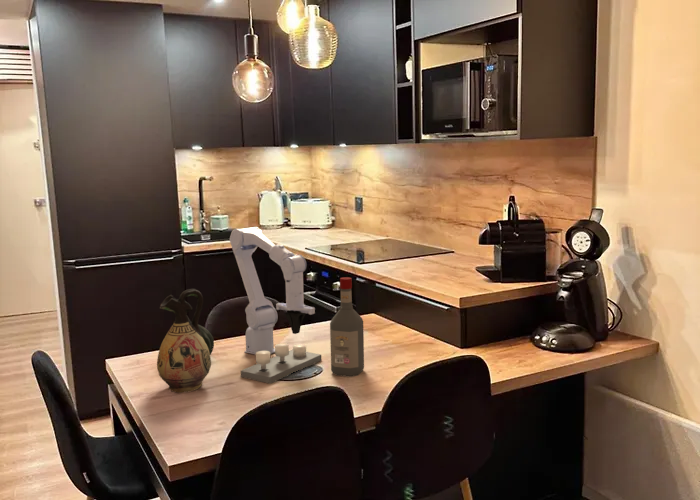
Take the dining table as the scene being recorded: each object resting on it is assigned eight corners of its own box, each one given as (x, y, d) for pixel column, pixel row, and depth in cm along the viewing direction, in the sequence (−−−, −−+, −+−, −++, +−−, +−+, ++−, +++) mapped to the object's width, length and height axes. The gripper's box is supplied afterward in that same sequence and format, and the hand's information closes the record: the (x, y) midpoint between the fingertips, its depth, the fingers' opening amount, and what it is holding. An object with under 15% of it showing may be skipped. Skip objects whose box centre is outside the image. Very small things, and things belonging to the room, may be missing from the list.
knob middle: (272, 361, 209) (271, 346, 208) (281, 357, 213) (280, 342, 212) (283, 363, 207) (282, 348, 206) (291, 359, 210) (291, 344, 210)
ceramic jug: (162, 400, 184) (156, 297, 180) (155, 383, 198) (149, 287, 194) (222, 391, 191) (217, 290, 186) (211, 375, 205) (206, 281, 200)
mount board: (240, 376, 203) (240, 370, 202) (293, 354, 224) (293, 349, 224) (270, 383, 196) (269, 377, 196) (321, 360, 217) (321, 354, 217)
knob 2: (290, 361, 217) (290, 346, 216) (298, 357, 220) (298, 343, 220) (301, 363, 214) (300, 348, 214) (309, 359, 218) (308, 345, 217)
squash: (196, 335, 231) (174, 310, 220) (228, 342, 223) (207, 317, 213) (174, 369, 223) (150, 345, 213) (207, 378, 216) (184, 354, 205)
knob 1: (253, 369, 202) (252, 353, 201) (262, 365, 205) (262, 349, 205) (264, 371, 199) (263, 355, 199) (273, 367, 203) (273, 352, 202)
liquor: (356, 377, 200) (354, 281, 195) (328, 375, 203) (326, 280, 198) (366, 368, 208) (364, 276, 204) (339, 365, 211) (337, 275, 207)
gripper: (269, 292, 213) (271, 332, 215) (304, 297, 205) (306, 338, 207) (283, 288, 219) (284, 328, 221) (318, 293, 211) (319, 333, 213)
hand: (296, 333), depth 215 cm, fingers closed
